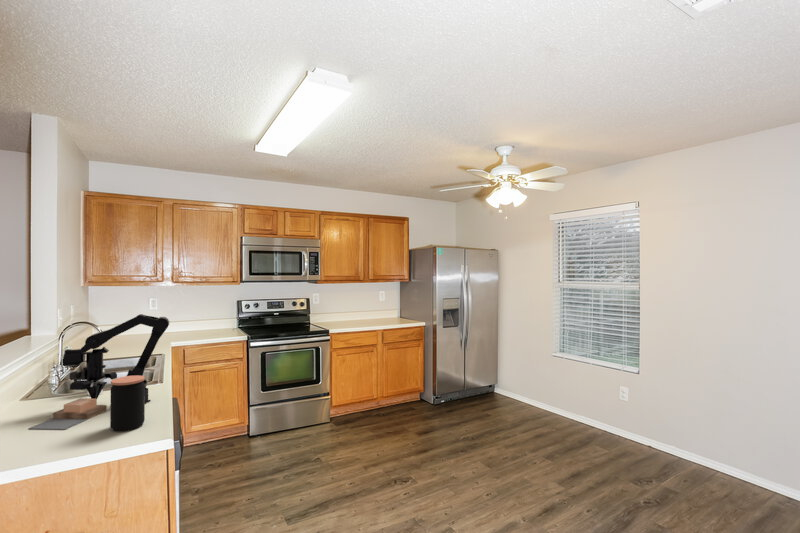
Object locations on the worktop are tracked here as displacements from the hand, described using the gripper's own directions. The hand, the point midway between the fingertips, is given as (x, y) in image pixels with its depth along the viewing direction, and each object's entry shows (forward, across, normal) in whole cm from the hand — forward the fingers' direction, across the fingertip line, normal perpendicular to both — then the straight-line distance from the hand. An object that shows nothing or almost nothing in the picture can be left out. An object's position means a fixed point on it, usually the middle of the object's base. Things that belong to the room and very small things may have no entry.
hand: (94, 400), depth 171 cm
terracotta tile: (+1, +7, 0) cm, 7 cm away
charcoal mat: (+4, +17, 0) cm, 17 cm away
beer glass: (+4, -20, -16) cm, 26 cm away
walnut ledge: (+4, +7, 0) cm, 8 cm away
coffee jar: (+4, +18, +28) cm, 34 cm away
